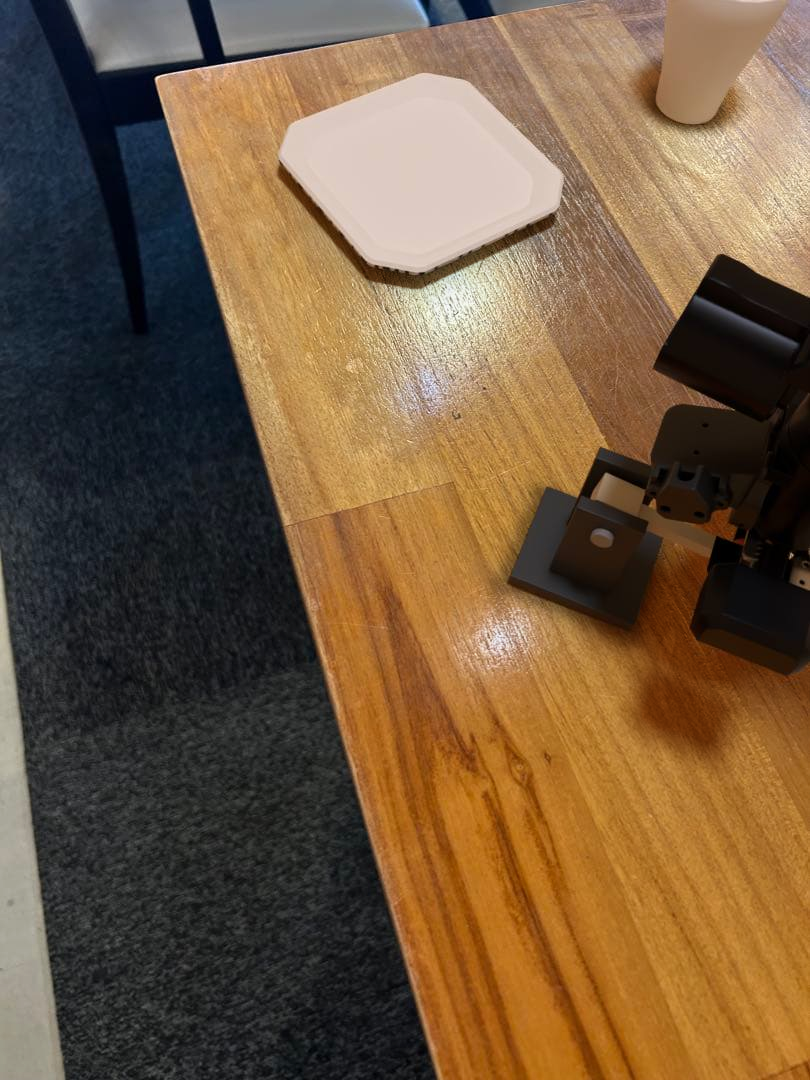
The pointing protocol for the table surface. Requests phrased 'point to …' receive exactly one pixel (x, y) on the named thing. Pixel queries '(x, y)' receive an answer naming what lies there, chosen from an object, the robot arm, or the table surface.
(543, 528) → the switch base
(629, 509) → the switch lever
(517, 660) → the table surface
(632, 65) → the table surface
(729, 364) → the robot arm
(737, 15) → the cup
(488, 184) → the plate
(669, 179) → the table surface
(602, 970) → the table surface
